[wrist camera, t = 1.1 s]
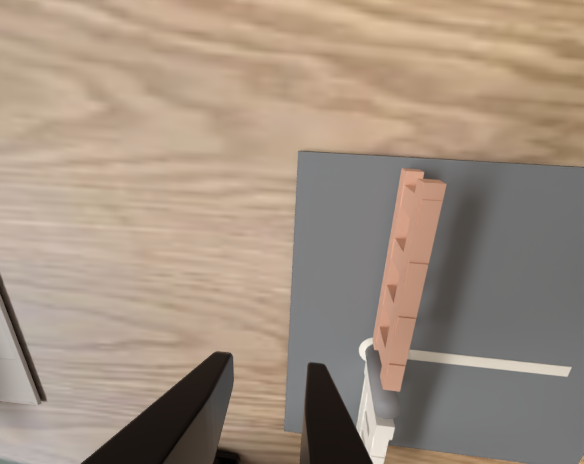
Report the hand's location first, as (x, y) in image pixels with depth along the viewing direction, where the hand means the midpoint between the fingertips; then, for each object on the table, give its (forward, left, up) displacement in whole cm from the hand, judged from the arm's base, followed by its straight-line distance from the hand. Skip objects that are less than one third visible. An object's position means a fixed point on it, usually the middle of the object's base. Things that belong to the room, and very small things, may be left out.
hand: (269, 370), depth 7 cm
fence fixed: (-14, -5, -12) cm, 19 cm away
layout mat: (-7, -10, -12) cm, 17 cm away
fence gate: (-3, -5, -12) cm, 13 cm away
